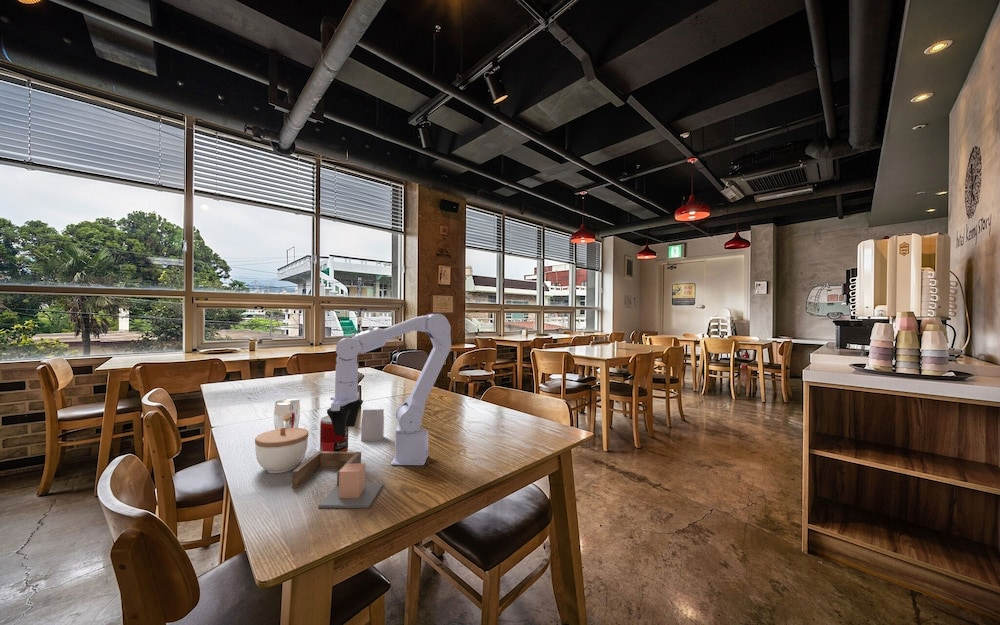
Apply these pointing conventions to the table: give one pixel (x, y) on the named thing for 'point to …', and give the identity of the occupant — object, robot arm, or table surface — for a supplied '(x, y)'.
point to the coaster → (361, 502)
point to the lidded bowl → (281, 449)
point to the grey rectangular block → (372, 425)
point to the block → (351, 480)
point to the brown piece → (323, 464)
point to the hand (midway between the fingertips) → (345, 430)
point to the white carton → (287, 413)
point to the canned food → (332, 437)
